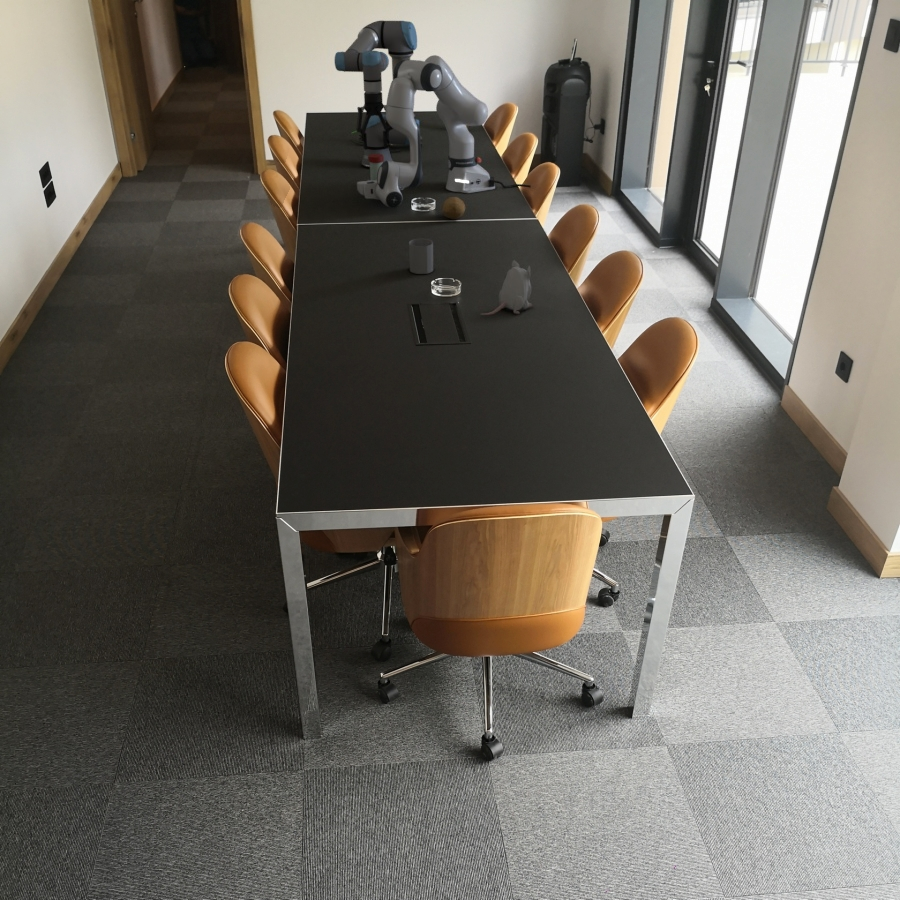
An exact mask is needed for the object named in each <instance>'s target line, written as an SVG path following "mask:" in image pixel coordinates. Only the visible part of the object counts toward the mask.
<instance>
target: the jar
mask: <svg viewBox="0 0 900 900" xmlns="http://www.w3.org/2000/svg"><path fill="white" fill-rule="evenodd" d="M382 163H383V162H381V163H371V162H370V168H369V172H370V173H369V175H370V179H369V180H371V181H372V180H377V173H378V169H379V167H380V166H381V164H382Z"/></svg>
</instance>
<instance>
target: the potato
mask: <svg viewBox="0 0 900 900" xmlns="http://www.w3.org/2000/svg"><path fill="white" fill-rule="evenodd" d="M465 210H466V204H465V202H464V200H462V199H460V197H458V196H449V197H447V198H446V200H445V201H444V202H443V203H442V207H441V213H442V214H443V216H445V217H446V218H448V219H450V220H458V219H460V218H462V216H464V214H465Z"/></svg>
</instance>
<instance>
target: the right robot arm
mask: <svg viewBox="0 0 900 900" xmlns="http://www.w3.org/2000/svg"><path fill="white" fill-rule="evenodd" d="M393 77H394V80H393V79H392V80H391V82H390V85H389V88H388V93H387V98H386V104H385V105H386V113H385V114H386V120H387V122H388V123H389V125H390V126H391V127H392V128H394V129H395V130H397V131H398V132H400V133H402V134H404V135H405V136H406V137H407V138H408V139H409V142H410V145H409V155H410V156H409V158H410V161H409V162H401V161H394V160H393V161H385V162H383V163H382V164H381V166H380V167H379V169H378V173H377V180H372V181H371V179H367V180H361V181H357V182H356V190H357V192H358V193H359V194H360V195H362V196H364V198H365V199H367V200H378V201H380V202H381V203H382V204H383V205H384V206H386V207H387V208H390V209H391V208H397V207H399V206H400V205H401V204H402V202H403V199H404V198H403V194H402V191H403V190H404V189H405V188H407V189H410V190H411V189H412V190H415V189H417V188H418V187H419V186H420V185H421V184H423V180H424V179H423V178H424V173H423V172H424V171H423V163H422V139H421V138H422V137H421V128H420V124H419V125H418V124H417V123H416V122H415V119H416V118H415V119H414V115H413V113H414V109H415V94H416V92H417V91H421V92H424V91H425V92H433V93H434V94H435V96H436V98H437V99H438V101H437V103H436V105H435V106H436V109H435V110H436V114H437V116H438V117H439V118H440V121H442V123H443V124H444V127H445V129H446V133H447V137H448V152H449V153H448V157H447V169H448V175H447V179H446V185H445V189H446V190H448V191H451V192H456V193H462V194H463V193H464V194H473V193H479V192H485V191H491V190H495V189H496V184H500V185H501V186H502V187H503V188H504V189H509V188H514V187H523V188H531V187H532V185H530V184H521V183H515V184H510V185H505V184H504V182H502V181H500V180H495V176H490V173H489V172H488V171H487V170H486V169H485V168H483V167H482V166H481V165H480V164H481V162H482V158H480V157H479V156H476V155H475V138H474V136H473V134H472V133H471V132H470V131H469V129H468V128H467V127H466V125H468V127H469V126H470V127H477V126H479V127H480V126H482V125H484V124H485V123H486V122H487V119H488V116H489V109H488V106H487V104H486V102H483V101H482V100H480V99H478V98H477V97H476V96H475V95H473V94H472V93H471V92H470V91H469V90H468V89H467V88H466V87H464V86H463V85H462V83H461V82H460V80H459V79H458V77H457V76H456V74H455V73H454V71H453V70H452V68H451V67H450V66H449V64H448V63H447V62H446V61H445V60H444V59H443V57H441V56H440V55H436V54H433V55H430V56H428V57H427V58H426V59H424V60H421V59H420V60H417V59H410V60H409V59H404V60H400V61H399V62H398V63H397V64H396V66H395V68H394V73H393V76H392V78H393Z"/></svg>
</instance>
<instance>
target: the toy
mask: <svg viewBox="0 0 900 900" xmlns="http://www.w3.org/2000/svg"><path fill="white" fill-rule="evenodd" d="M531 272H532V271H531V265H530V264H529V265H528V267H527V270H526V269H525V268H522V267H520V264H519V263H518V261H517V260H515V259H513V260H512V263H511V268H510V269H509V270H508V271H507V273H506V275H505V277H504V280H503V283H502V285H501V286H502V287H501V289H500V290H499V293H498V302H499V303H498V304H499V306H498V307H496V308H495V309H494V310H493V311H490V312H486V313H481V315H483V316H490V315H491V316H492V315H494V314H496V313H498V312H500V311H501V310H504V309H505V308H507V309H509V310H512V311H513V314H516V315H519V314H521V313H520V311H519V310H521V309H522V310H527V309H529V308H533V304H532V303H530V302H529V299H530V298H531V294H532V285H531V282H530V281H531V280H530V279H531V275H532V273H531Z"/></svg>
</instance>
